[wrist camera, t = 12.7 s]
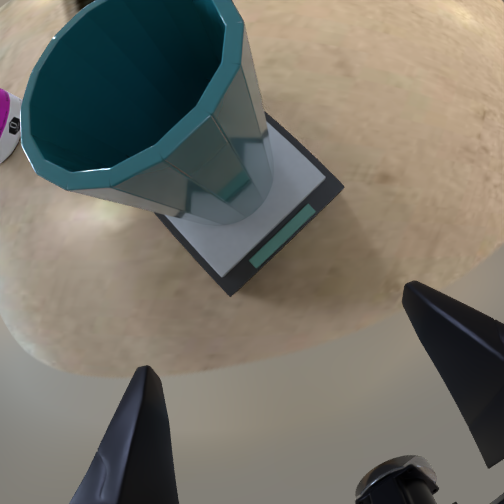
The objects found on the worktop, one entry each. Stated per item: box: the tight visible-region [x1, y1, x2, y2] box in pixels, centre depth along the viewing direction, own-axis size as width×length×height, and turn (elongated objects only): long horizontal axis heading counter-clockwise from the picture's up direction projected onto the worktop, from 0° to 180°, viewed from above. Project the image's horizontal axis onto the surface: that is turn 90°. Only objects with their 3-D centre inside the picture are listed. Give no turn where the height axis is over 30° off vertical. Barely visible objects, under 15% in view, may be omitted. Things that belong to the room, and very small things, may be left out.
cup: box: [20, 0, 274, 226], centre depth 13 cm, size 7×7×13 cm
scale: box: [154, 111, 344, 297], centre depth 20 cm, size 12×10×3 cm
